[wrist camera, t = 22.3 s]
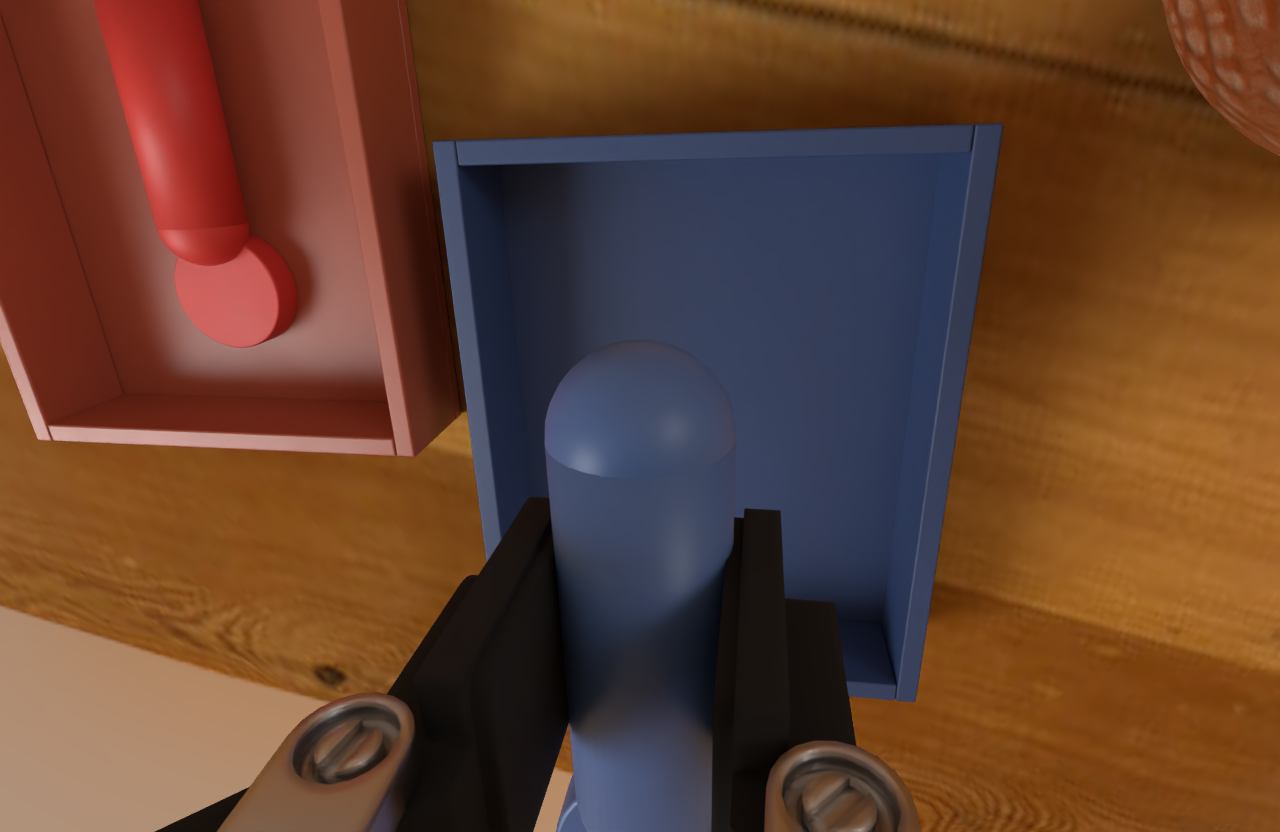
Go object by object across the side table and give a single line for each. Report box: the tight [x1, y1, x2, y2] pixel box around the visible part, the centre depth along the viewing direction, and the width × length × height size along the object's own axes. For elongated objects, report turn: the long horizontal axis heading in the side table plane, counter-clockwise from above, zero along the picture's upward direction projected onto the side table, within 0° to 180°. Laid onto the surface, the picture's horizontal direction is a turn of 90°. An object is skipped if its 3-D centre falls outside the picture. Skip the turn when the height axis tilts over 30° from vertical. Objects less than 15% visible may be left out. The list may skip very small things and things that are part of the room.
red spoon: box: [93, 0, 298, 348], centre depth 20 cm, size 11×4×2 cm, turn 2°
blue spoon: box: [544, 339, 736, 832], centre depth 10 cm, size 11×4×2 cm, turn 2°
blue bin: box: [433, 123, 1004, 702], centre depth 21 cm, size 13×16×4 cm
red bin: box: [0, 0, 461, 457], centre depth 20 cm, size 13×16×4 cm
